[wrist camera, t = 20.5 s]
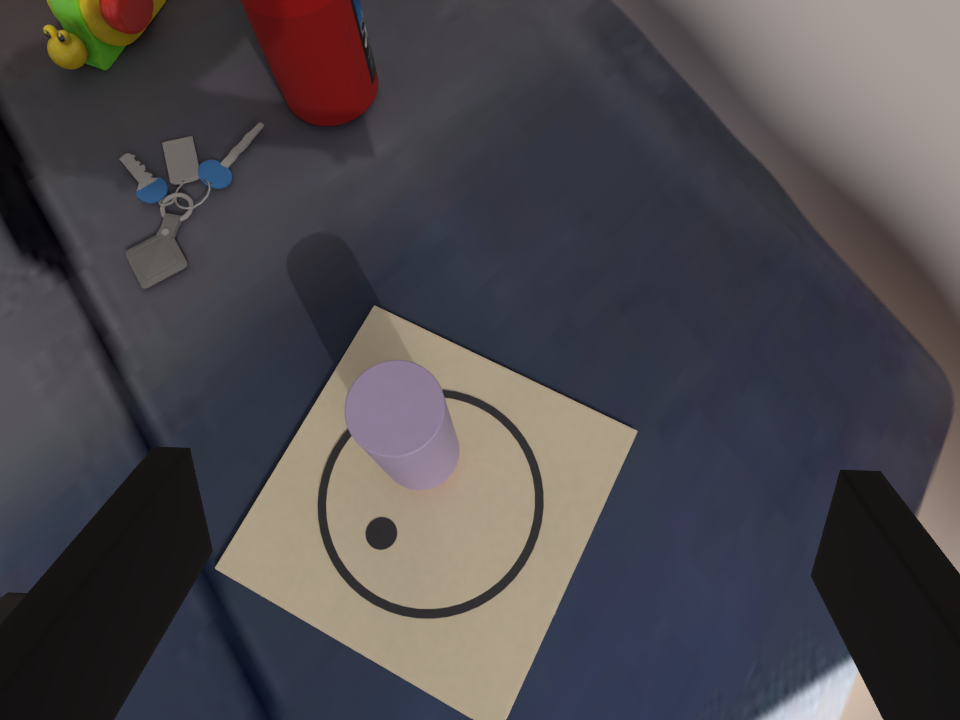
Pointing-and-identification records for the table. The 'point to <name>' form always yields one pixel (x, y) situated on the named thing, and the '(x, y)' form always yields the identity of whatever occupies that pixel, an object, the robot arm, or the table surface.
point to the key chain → (162, 250)
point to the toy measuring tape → (96, 30)
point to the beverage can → (317, 56)
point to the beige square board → (435, 524)
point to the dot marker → (403, 423)
